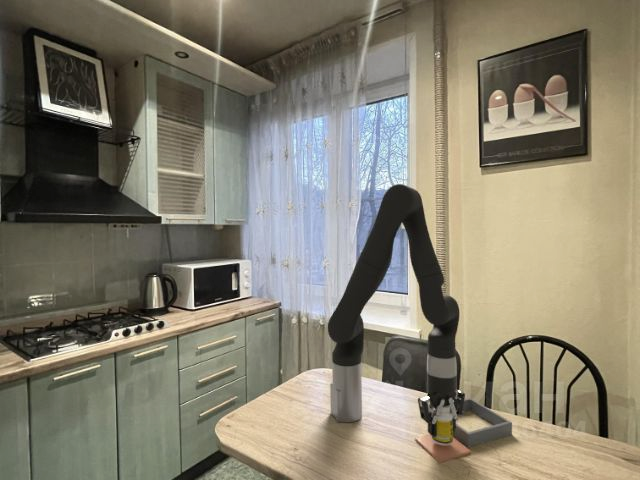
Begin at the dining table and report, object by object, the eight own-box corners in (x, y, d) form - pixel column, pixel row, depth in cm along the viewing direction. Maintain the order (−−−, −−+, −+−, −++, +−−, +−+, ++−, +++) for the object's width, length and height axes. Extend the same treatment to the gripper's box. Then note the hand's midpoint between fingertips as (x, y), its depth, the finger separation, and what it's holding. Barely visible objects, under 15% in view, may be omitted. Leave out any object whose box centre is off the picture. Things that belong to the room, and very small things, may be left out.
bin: (468, 447, 92) (468, 434, 92) (430, 417, 106) (430, 406, 106) (511, 434, 97) (511, 422, 97) (470, 408, 112) (470, 397, 112)
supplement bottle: (454, 447, 89) (454, 410, 89) (432, 445, 90) (432, 408, 90) (451, 435, 94) (450, 400, 94) (430, 433, 96) (430, 398, 95)
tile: (439, 462, 86) (439, 460, 86) (415, 440, 95) (415, 438, 95) (471, 453, 89) (471, 451, 89) (444, 432, 99) (444, 430, 99)
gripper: (453, 362, 98) (453, 420, 98) (410, 369, 93) (410, 431, 93) (473, 372, 91) (473, 435, 91) (428, 380, 86) (428, 447, 86)
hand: (441, 432), depth 92 cm, fingers closed on supplement bottle, 5 cm apart
